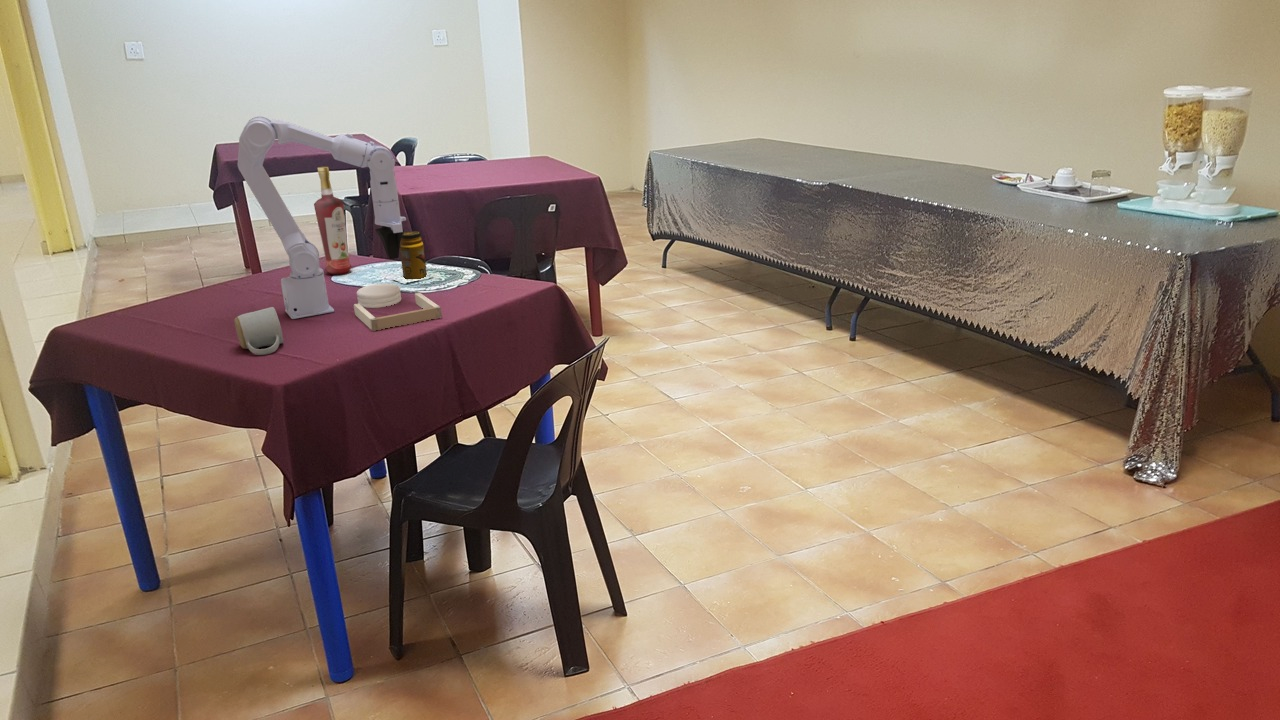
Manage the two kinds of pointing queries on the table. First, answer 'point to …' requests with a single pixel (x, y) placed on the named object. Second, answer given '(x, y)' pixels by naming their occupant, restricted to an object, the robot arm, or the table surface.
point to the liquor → (332, 227)
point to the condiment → (412, 255)
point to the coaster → (379, 295)
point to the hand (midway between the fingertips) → (393, 258)
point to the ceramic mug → (259, 331)
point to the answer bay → (400, 315)
